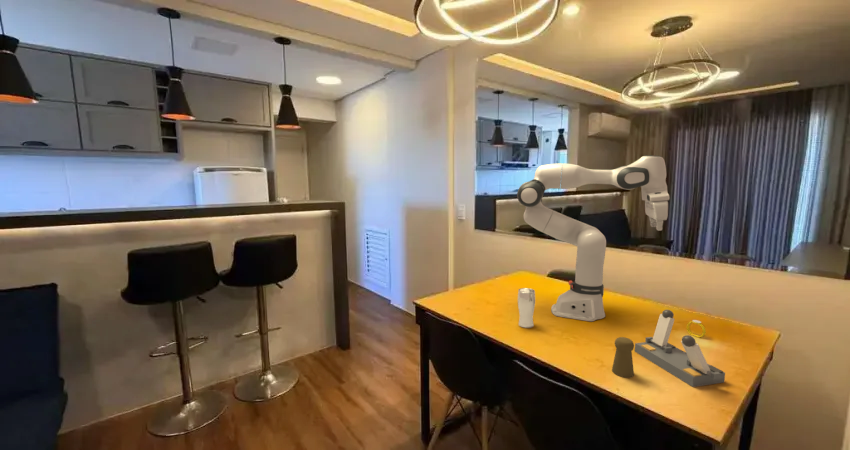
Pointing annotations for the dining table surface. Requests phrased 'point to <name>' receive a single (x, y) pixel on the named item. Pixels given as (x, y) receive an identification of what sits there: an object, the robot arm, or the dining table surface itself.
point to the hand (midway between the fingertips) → (656, 228)
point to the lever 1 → (663, 329)
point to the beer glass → (526, 307)
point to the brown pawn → (623, 358)
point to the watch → (696, 323)
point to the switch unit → (678, 364)
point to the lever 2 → (695, 354)
